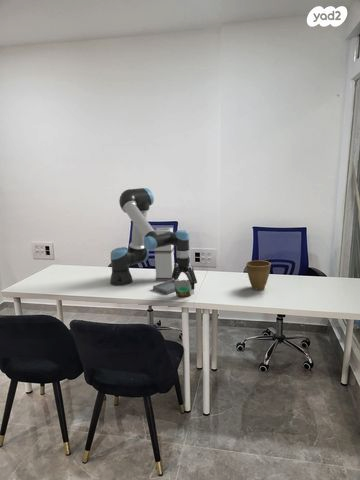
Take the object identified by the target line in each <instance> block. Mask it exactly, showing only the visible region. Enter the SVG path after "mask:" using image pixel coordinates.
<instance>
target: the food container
mask: <svg viewBox="0 0 360 480" xmlns="http://www.w3.org/2000/svg"><path fill="white" fill-rule="evenodd" d="M173 284H174V285H175V291H176V292H175V296H176V297H177V298H183V299H186V298H189V297H191V296H192V295H190V282H189V280H188V279H182V280H179V281H175V280H174V281H173Z"/></svg>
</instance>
